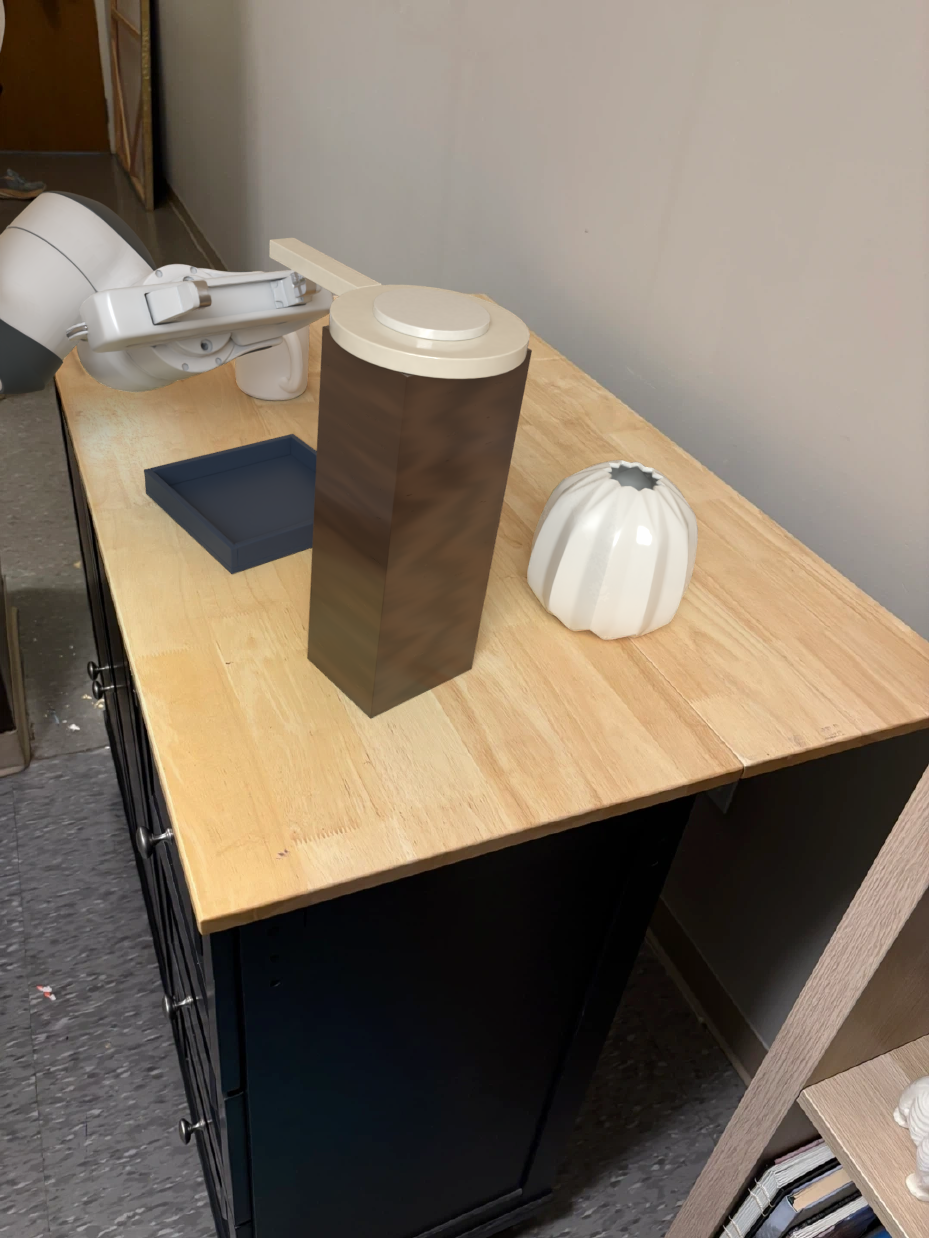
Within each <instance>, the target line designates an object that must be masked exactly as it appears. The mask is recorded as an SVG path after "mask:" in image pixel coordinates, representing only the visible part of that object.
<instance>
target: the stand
mask: <svg viewBox="0 0 929 1238" xmlns="http://www.w3.org/2000/svg"><path fill="white" fill-rule="evenodd" d="M321 328H322V329H321V350H320V351H321V352H320V370H319V371H320V373H319V392H318V393H319V395H318V416H317V434H316V435H317V436H316V437H317V438H316V451H317V457H316V479H315V500H314V522H313V544H312V548H311V567H310V589H309V608H308V609H309V612H308V631H307V632H308V636H307V655H306V658H307V660H308V661H309V662H310V663H311V664H312V665H313V666H315V667H316V668H317V669H318V671H320V672H321V673H322V674H323V675H324V676H325V677H326V678H327V679H328V680H329V681H330V682H331V683H333V685H335V686H336V687H337V689H339V690H340V691H341V692H342V693H343V694H344V695H345V696H346V697H347V698H348V699H349V700H350V701H351V702H353V703H354V705H355V706H356V707H358V708H359V710H361V711H362V713H364V714H365V715H366V716H367V717H368V718H369V719H374V718H376V717H377V716H379V715H381V714H384V713H385V712H388V711H389V710H392V709H394V708H395V707H397V706H400V705H402V704H403V703H406V702H407V701H410V700H412V699H414V698H416V697H418V696H420V695H422V694H424V693H426V692H428V691H430V690H432V689H434V688H436V687H438V686H440V685H442V684H444V683H446V682H449V681H450V680H452V679H454V678H457V677H459V676H460V675H463V674H464V673H466V672H469V671H471V670H472V668H473V663H474V659H475V653H476V648H477V642H478V638H479V631H480V627H481V621H482V615H483V610H484V605H485V600H486V594H487V589H488V584H489V579H490V574H491V568H492V563H493V558H494V552H495V548H496V542H497V537H498V531H499V527H500V522H501V516H502V510H503V505H504V500H505V494H506V489H507V484H508V479H509V475H510V469H511V463H512V459H513V454H514V453H513V452H514V447H515V442H516V438H517V431H518V426H519V420H520V417H521V411H522V405H523V401H524V394H525V389H526V384H527V378H528V374H529V368H530V362H531V358H532V352H533V350H532V349H531V348H529V347H528V350H527V355H526V358H525V360H524V361H523V362H522V363H521V364H520V365H519V366H518V367H516V368H515V369H513V370H511V371H508V372H506V373H503V374H499V375H495V376H490V377H483V378H473V379H446V378H433V377H425V376H418V375H413V374H407V373H403V372H399V371H394V370H391V369H387V368H384V367H380V366H378V365H375V364H372V363H369V362H367V361H365V360H363V359H360V358H358V357H356V356H354V355H353V354H351V353H349V352H348V351H346V350H345V349H343V348H342V347H341V346H340V345H338V344H337V343H336V342H335V340H334V339H333V338H332V336H331V334H330V331H329V324H328V325H322V327H321Z"/></svg>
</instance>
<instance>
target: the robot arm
mask: <svg viewBox="0 0 929 1238" xmlns="http://www.w3.org/2000/svg"><path fill="white" fill-rule="evenodd" d="M5 18H6V13H5V6H4V1H3V0H0V52H1V51H2V46H3V43H4V41H3V40H4V35H5V29H6V28H5V27H6V19H5ZM334 300H335V297H334V293H332V292H330V291H328V290H327V289H325V288H323V287H321V286H320V285H318V284H316V283H314V282H313V281H311V280H309V279H307V278H305V277H304V276H302V275H300V274H298V273H297V272H295V271H293V270H291V269H282V270H275V271H263V270H255V271H253V270H243V271H242V270H241V271H238V270H237V271H231V270H225V271H224V270H216V269H211V268H205V267H204V268H203V267H195V266H192V265H189V264H183V263H173V264H166V265H164V266H160V267H158V268H157V265H156V263H155V261H154V258H153V257H152V255H151V253H150V251H149V249H148V248H147V247H146V245H145V244H144V242H143V241H142V240H141V238H140V237H139V235H137V233H136V232H135V231H134V229H132V228H131V226H130V225H129V224H128V223H127V222H126V221H125V220H124V219H122V217H120V216H119V214H117V213H116V212H115V211H114V210H112V209H111V208H110V207H108V206H107V205H105V204H103V202H102V203H101V202H100V201H98V200H95V199H92V198H90V197H86V196H84V195H80V194H77V193H73V192H69V191H62V190H48V191H47V190H46V191H43V192H40V193H39V194H38V195H37V196H36V198H34V199H33V200H32V201H31V202H30V203H29V204H28V205H26V207H25V208H24V209H23V210H22V211H21V212H20V213H19V214H18V215H17V216H16V217H15V218H14V219H12V221H11V223H10V224H8V225H7V226H6V227H5V229H4V230H3V231H2V233H0V395H21V394H22V395H23V394H31V393H36V392H40V391H44V390H45V389H46V388H47V387H48V385H49V383H50V382H51V380H53V378H54V377H55V375H56V373H57V372H58V371H59V369H60V368H61V367H62V365H63V364H64V360H65V359H66V357H67V356H69V354H70V353H71V352H72V351H73V350H74V349H75V347H76V351H77V356H78V359H79V361H80V362H79V363H80V364H81V366H82V367H83V369H84V370H85V371H86V373H87V374H88V375H89V376H90V377H91V378H92V379H93V380H94V381H96V382H97V383H98V384H101V385H103V386H105V387H107V388H110V389H113V390H116V391H120V392H126V393H144V392H150V391H154V390H157V389H161V388H164V387H167V386H169V385H172V384H175V383H176V382H177V381H183V380H187V379H189V378H194V377H196V376H198V375H201V374H204V373H206V372H210V371H212V370H215V369H217V368H219V367H222V366H225V365H226V364H228V363H230V362H231V361H233V360H235V358H237V357H240V356H243V355H245V354H249V353H252V352H256V351H261V350H265V349H268V348H271V347H274V346H277V345H280V344H281V343H282V342H283V337H282V336H283V335H286V334H289V333H292V332H294V331H297V330H299V329H301V328H303V327H305V326H307V325H309V324H310V325H311V324H314V323H315V322H317V321H319V320H321V319H323V318H324V317H326V316H329V315H330V307H331V304H332V302H333V301H334Z"/></svg>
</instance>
